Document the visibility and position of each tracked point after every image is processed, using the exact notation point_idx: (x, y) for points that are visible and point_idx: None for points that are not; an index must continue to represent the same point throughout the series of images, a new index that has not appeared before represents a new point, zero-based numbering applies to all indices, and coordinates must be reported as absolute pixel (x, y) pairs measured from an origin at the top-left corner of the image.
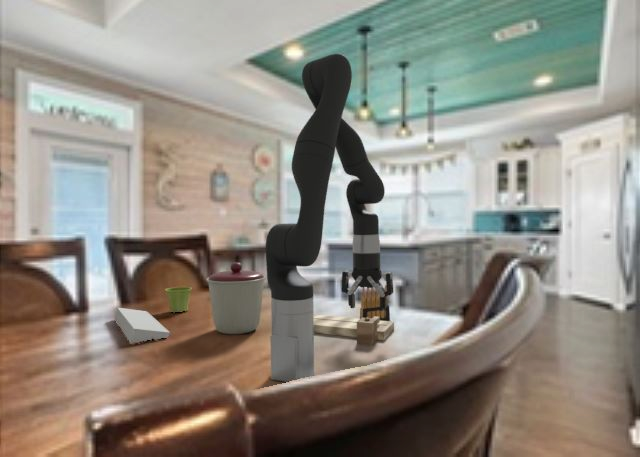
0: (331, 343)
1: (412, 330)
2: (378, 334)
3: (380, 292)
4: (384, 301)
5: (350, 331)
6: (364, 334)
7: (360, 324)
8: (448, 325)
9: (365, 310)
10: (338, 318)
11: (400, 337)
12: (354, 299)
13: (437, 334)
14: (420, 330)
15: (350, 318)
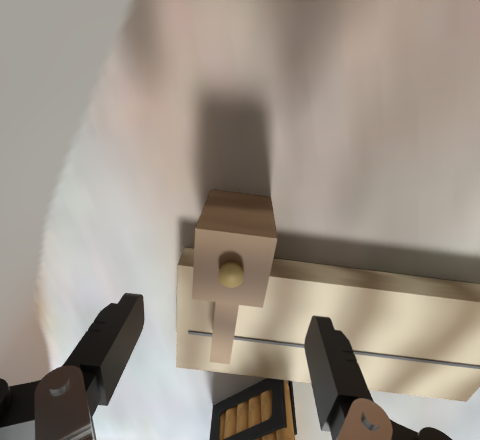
0: (370, 174)
1: None
2: None
3: (66, 410)
4: (85, 341)
5: (307, 273)
6: (239, 207)
7: (257, 229)
8: None
9: (277, 421)
10: (365, 374)
11: (144, 284)
12: (315, 382)
13: (55, 325)
14: None
15: None
